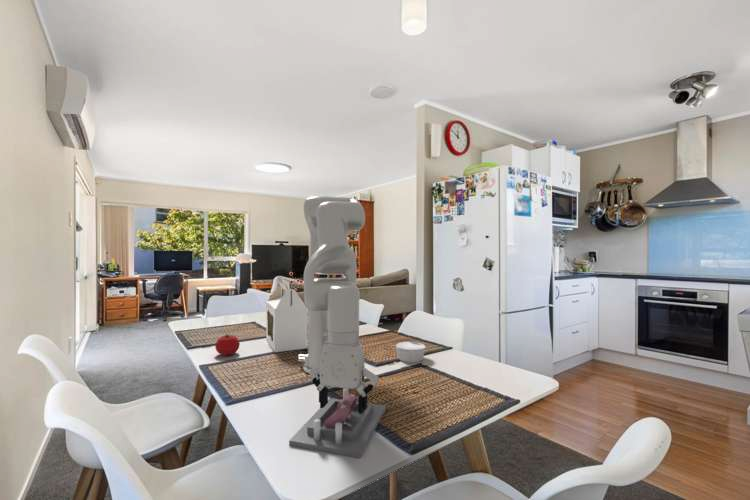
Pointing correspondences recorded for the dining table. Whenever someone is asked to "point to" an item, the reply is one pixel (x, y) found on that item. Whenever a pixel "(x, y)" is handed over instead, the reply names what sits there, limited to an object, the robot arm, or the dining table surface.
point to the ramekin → (410, 351)
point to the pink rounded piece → (342, 411)
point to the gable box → (286, 319)
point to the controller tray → (339, 429)
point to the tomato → (227, 345)
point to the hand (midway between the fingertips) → (342, 408)
